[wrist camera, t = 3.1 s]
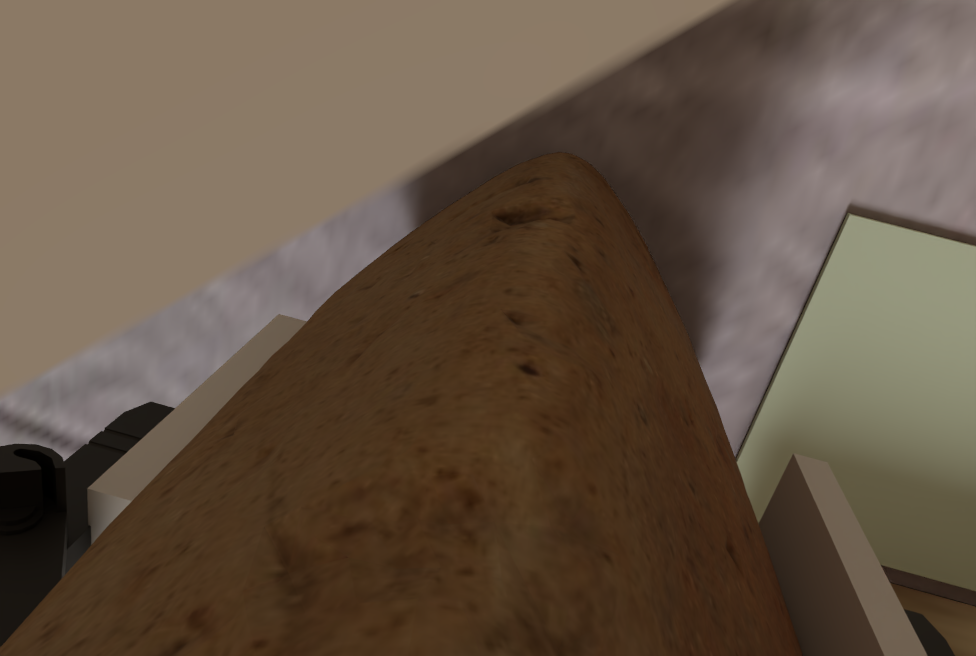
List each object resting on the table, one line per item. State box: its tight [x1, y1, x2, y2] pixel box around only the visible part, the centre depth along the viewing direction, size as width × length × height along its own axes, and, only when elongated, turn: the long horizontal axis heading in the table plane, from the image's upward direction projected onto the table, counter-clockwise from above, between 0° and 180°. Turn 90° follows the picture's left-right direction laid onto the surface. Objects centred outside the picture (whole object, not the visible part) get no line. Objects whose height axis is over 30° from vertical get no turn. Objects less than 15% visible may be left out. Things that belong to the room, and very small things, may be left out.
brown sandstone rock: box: [0, 152, 803, 656], centre depth 13 cm, size 11×8×20 cm
